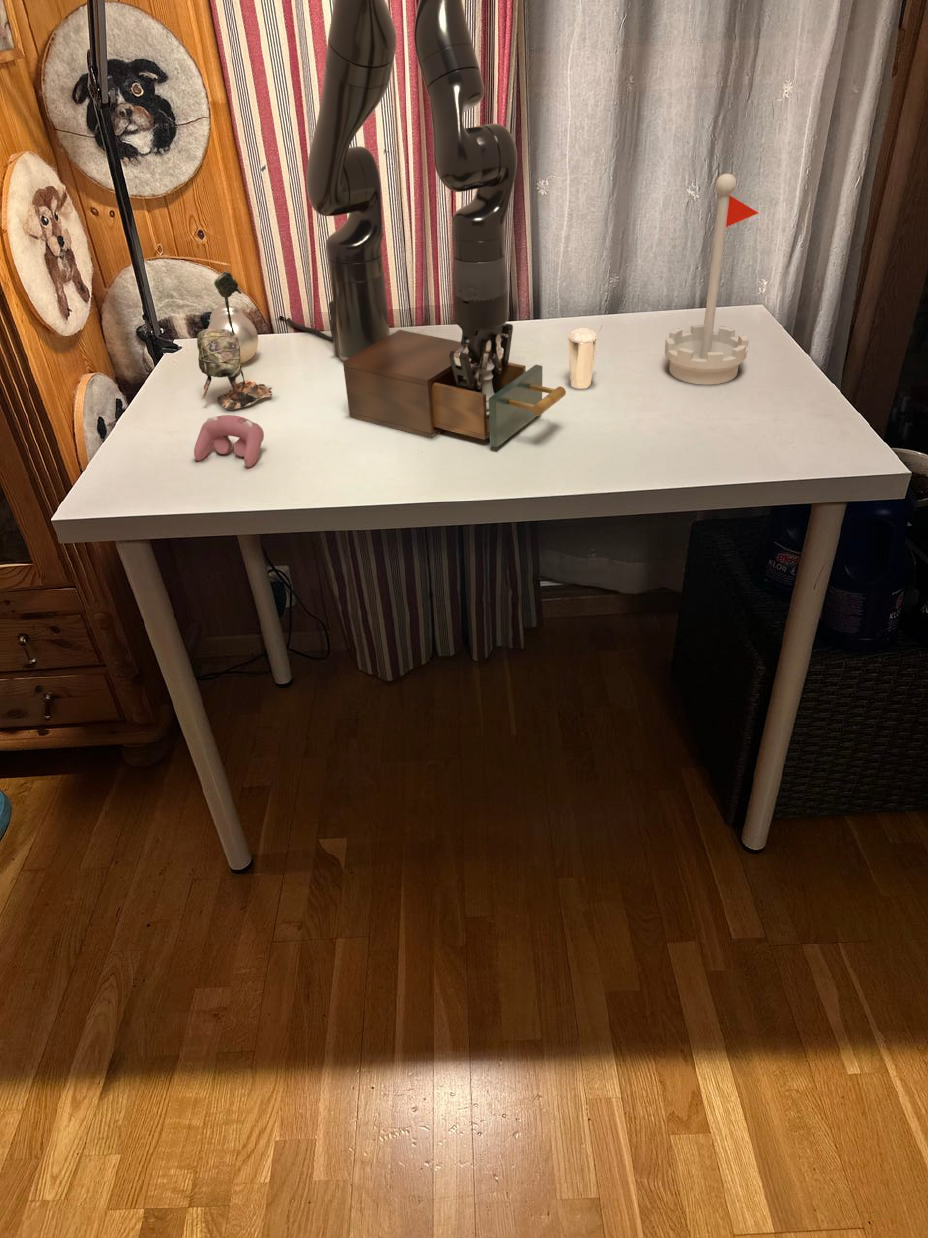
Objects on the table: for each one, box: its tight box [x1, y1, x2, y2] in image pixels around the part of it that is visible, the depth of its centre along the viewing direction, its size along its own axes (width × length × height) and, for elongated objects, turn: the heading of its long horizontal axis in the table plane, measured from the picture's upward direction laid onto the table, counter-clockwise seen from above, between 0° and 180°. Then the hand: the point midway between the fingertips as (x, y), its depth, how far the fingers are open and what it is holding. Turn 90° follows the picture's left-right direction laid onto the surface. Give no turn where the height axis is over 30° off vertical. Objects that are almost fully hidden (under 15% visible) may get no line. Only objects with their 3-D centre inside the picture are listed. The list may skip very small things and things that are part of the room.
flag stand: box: [664, 173, 759, 386], centre depth 143 cm, size 13×13×30 cm
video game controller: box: [193, 414, 265, 468], centre depth 134 cm, size 10×5×7 cm, turn 71°
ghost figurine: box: [207, 303, 259, 365], centre depth 161 cm, size 9×10×10 cm
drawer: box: [431, 361, 567, 448], centre depth 136 cm, size 20×13×7 cm, turn 57°
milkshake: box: [567, 324, 604, 390], centre depth 147 cm, size 4×5×10 cm
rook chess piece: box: [473, 358, 495, 417], centre depth 136 cm, size 4×4×8 cm
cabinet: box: [342, 329, 461, 439], centre depth 143 cm, size 16×15×9 cm
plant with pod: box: [194, 270, 273, 411], centre depth 145 cm, size 8×11×20 cm
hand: (484, 403), depth 138 cm, fingers closed on rook chess piece, 4 cm apart
